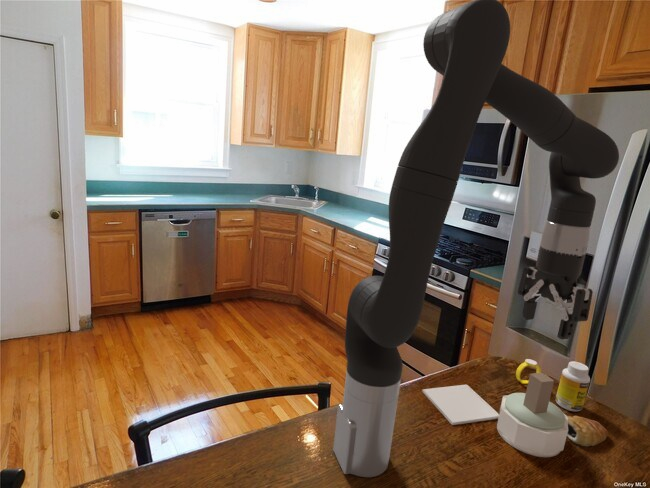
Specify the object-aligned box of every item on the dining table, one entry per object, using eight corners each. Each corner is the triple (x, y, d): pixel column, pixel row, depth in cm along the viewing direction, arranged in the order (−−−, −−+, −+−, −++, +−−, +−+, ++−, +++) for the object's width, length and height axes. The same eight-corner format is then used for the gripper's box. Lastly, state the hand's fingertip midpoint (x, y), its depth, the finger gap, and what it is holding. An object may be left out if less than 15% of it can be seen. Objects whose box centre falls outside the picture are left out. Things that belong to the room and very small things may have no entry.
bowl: (526, 461, 79) (532, 436, 78) (484, 420, 90) (489, 397, 89) (575, 452, 83) (582, 427, 82) (530, 413, 94) (535, 391, 93)
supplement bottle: (574, 415, 95) (585, 374, 93) (550, 402, 99) (559, 362, 97) (586, 408, 98) (597, 368, 96) (562, 395, 103) (572, 357, 100)
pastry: (588, 423, 93) (592, 408, 92) (616, 445, 87) (621, 429, 86) (553, 427, 90) (557, 412, 89) (579, 450, 84) (584, 434, 83)
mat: (452, 425, 88) (452, 422, 88) (422, 391, 99) (422, 389, 99) (500, 418, 92) (500, 415, 91) (466, 386, 103) (466, 384, 102)
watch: (532, 380, 109) (539, 359, 108) (539, 386, 106) (546, 365, 105) (511, 379, 108) (517, 357, 106) (518, 385, 105) (524, 363, 104)
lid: (532, 433, 79) (541, 396, 77) (493, 398, 89) (500, 365, 87) (577, 426, 82) (586, 390, 80) (535, 393, 92) (542, 361, 90)
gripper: (518, 238, 84) (503, 314, 88) (581, 258, 71) (560, 347, 75) (547, 238, 87) (531, 312, 90) (613, 258, 74) (591, 344, 77)
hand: (544, 328), depth 83 cm, fingers open, 8 cm apart
